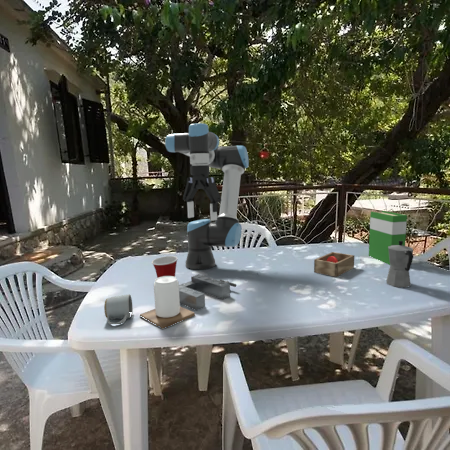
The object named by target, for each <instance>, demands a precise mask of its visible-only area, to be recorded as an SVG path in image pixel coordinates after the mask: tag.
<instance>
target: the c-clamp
mask: <svg viewBox="0 0 450 450" xmlns="http://www.w3.org/2000/svg"><path fill="white" fill-rule="evenodd" d="M190 279H191V280H190V281H187V282H184V283H181V284H179V299H180V303H181V304H180V305H182V304H183V305H182V306H184V305H186V306H185V307H187V306H188V308H189V307H190V308H189V309H192V308H193V309H192V310H194V309H195V310H194V311H199V310H202V309H203V308H206V296H205V294H207V295H209V296H212V297H215V298H218V299H221V300H225V299H228V298H230V297H231V287H234V288H236V287H237V284H236V283H232V282H230V281H228V280H224V279H223V280H222V279H219V280H218V279H215V278H211V277H208V276H206V275H201V274H196V275H195V274H194V275H193V276H191V278H190ZM201 308H202V309H201Z"/></svg>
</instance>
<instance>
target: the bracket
mask: <svg viewBox="0 0 450 450" xmlns="http://www.w3.org/2000/svg"><path fill="white" fill-rule="evenodd" d="M327 261H328V262H333V263H337V262H338V260H337V259H336V258H335V257H334V256H330V257H328V258H327Z"/></svg>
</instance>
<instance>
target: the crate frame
mask: <svg viewBox="0 0 450 450" xmlns="http://www.w3.org/2000/svg"><path fill="white" fill-rule="evenodd" d="M330 256H334V257H335V258H336V259H337V260H338V262H337V263H333V262H328V261H327V258H328V257H330ZM313 261H314V262H313V265H314V266H313V272H314V273H317V274H321V275H326V276H331V277H335V278H338V277H339V276H342V275H344V274H345V273H346V272H348V271H350V270H353V269H354V268H355V255H354V254H350V253H349V254H348V253H342V252H335V251H331V252H328V253H325V255H321V256H319V257H317V258H315V259H314V260H313Z"/></svg>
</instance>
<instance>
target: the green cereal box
mask: <svg viewBox="0 0 450 450" xmlns="http://www.w3.org/2000/svg"><path fill="white" fill-rule="evenodd" d="M407 219H408V215H407V214H401V213H396V212H390V211H386V210H382V211H380V212H376V211H370V217H369V221H370V222H369V242H368V257H370V256H371V257H370V258H372V257H373V258H372V259H374V260H377V259H378V261H379V260H380V261H379V262H382V263H384V264H387V265H389V266H390V261H389V250H388V246H391V245H399V241H403V244H402V245H403V246H406V239H407V238H406V235H407V222H408V220H407Z"/></svg>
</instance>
